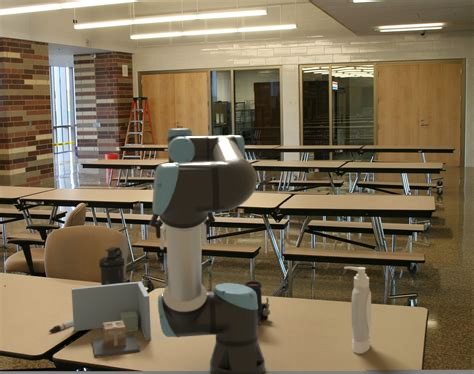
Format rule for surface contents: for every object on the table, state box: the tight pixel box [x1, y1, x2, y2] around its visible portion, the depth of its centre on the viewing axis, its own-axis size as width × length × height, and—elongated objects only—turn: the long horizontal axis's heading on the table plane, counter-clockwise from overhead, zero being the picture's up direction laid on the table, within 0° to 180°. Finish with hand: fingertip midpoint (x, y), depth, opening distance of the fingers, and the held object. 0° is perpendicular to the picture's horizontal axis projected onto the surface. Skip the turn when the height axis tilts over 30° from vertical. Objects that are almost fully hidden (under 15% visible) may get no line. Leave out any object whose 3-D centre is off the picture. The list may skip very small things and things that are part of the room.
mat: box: [91, 333, 140, 358], centre depth 191 cm, size 13×13×1 cm
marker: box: [48, 319, 74, 333], centre depth 209 cm, size 15×2×2 cm, turn 146°
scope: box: [244, 280, 271, 327], centre depth 208 cm, size 8×14×10 cm
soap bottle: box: [343, 266, 372, 355], centre depth 185 cm, size 13×8×24 cm, turn 159°
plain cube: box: [120, 311, 139, 333], centre depth 206 cm, size 5×5×5 cm
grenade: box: [98, 246, 125, 285], centre depth 235 cm, size 9×11×20 cm
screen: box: [71, 281, 152, 341], centre depth 200 cm, size 17×23×14 cm
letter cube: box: [103, 320, 127, 349], centre depth 190 cm, size 6×6×6 cm
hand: (183, 246), depth 195 cm, fingers open, 13 cm apart
